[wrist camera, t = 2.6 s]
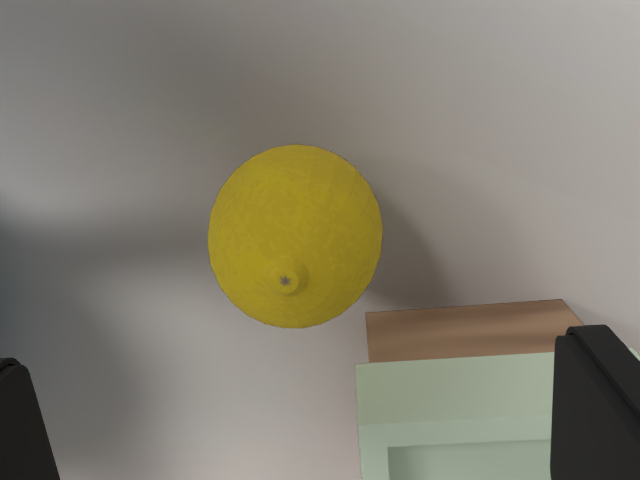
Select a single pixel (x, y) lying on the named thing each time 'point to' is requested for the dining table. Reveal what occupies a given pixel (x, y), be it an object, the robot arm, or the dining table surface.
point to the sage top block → (456, 418)
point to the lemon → (295, 236)
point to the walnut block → (467, 330)
